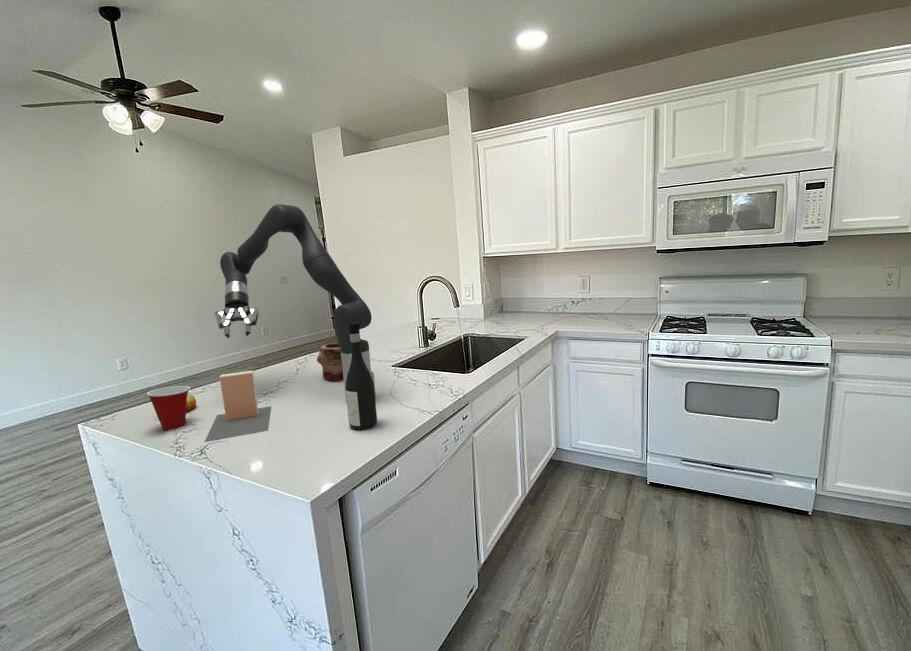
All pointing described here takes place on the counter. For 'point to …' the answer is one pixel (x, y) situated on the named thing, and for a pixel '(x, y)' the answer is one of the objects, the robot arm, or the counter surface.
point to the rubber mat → (239, 425)
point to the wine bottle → (359, 386)
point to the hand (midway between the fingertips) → (237, 335)
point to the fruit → (190, 402)
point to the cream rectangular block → (239, 395)
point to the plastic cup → (170, 405)
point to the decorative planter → (331, 362)
